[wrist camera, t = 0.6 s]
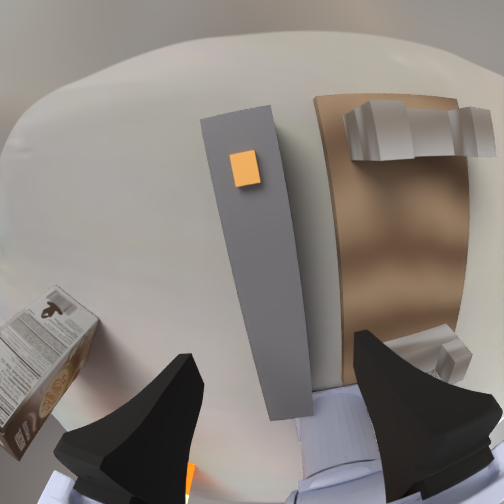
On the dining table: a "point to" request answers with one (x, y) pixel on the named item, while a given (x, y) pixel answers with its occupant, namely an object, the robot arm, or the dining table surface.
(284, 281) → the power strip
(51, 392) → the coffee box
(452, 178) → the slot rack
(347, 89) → the dining table surface
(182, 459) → the robot arm
